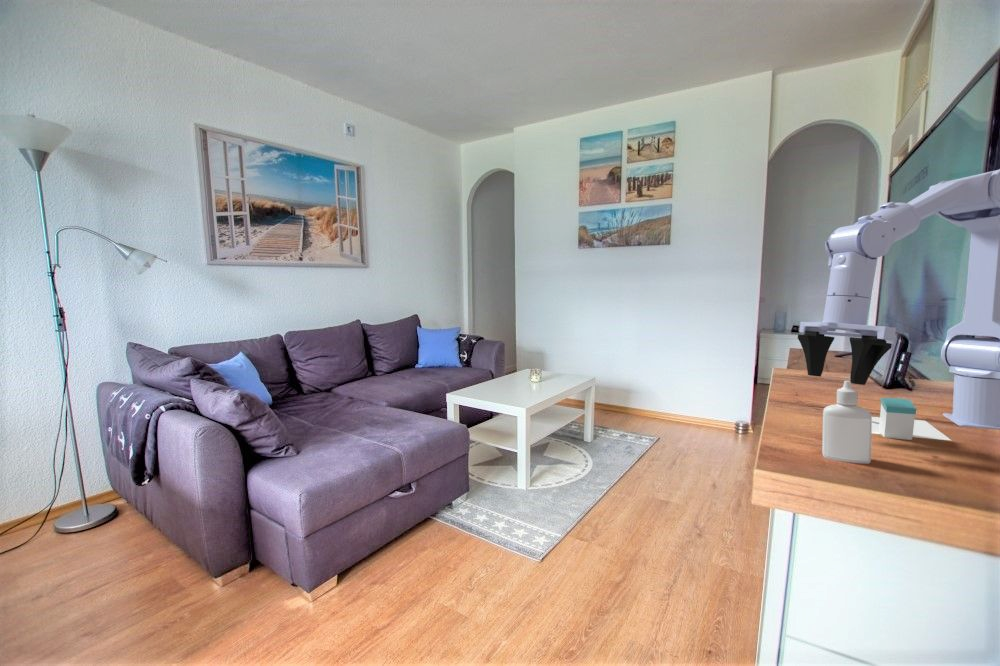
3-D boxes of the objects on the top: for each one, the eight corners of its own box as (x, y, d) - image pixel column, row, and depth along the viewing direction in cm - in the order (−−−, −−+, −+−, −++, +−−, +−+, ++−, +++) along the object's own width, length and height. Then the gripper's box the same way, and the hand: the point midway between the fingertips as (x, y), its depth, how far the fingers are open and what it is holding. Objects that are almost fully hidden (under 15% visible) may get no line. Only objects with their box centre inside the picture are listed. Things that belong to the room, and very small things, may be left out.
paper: (925, 422, 81) (925, 420, 81) (951, 442, 70) (951, 440, 70) (843, 416, 87) (843, 414, 87) (857, 433, 76) (857, 431, 76)
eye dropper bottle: (861, 469, 62) (863, 386, 61) (817, 457, 67) (818, 380, 66) (875, 462, 64) (877, 382, 63) (831, 451, 69) (833, 376, 68)
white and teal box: (905, 431, 74) (909, 399, 73) (912, 441, 71) (916, 408, 70) (878, 429, 76) (881, 397, 75) (883, 439, 73) (886, 406, 72)
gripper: (790, 295, 77) (778, 370, 78) (874, 294, 63) (859, 386, 64) (822, 300, 79) (811, 374, 80) (912, 300, 65) (897, 390, 65)
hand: (834, 379), depth 72 cm, fingers open, 7 cm apart
